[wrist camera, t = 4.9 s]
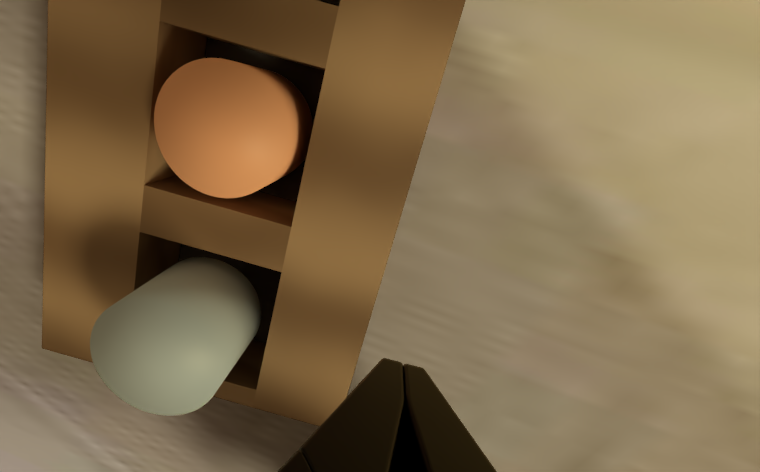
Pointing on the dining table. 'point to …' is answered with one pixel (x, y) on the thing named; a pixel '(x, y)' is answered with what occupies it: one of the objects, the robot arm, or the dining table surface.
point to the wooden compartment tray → (251, 212)
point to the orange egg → (231, 126)
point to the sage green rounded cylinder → (176, 336)
